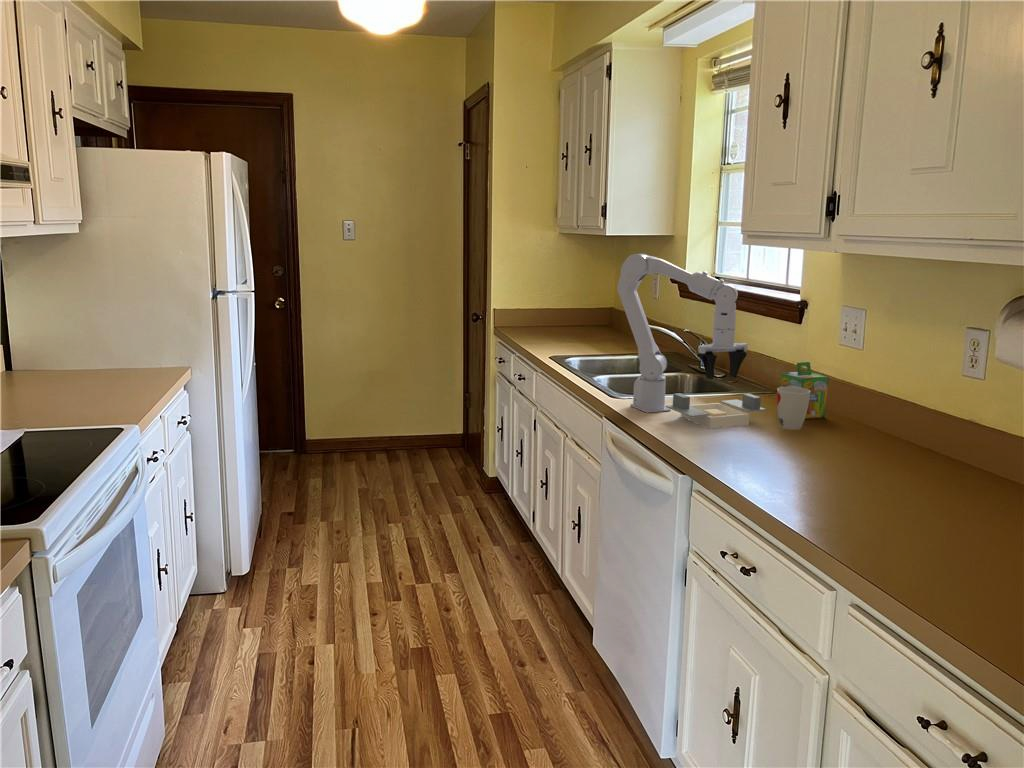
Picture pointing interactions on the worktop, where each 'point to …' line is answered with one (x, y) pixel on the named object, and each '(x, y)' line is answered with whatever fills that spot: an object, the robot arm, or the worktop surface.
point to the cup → (792, 406)
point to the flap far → (746, 403)
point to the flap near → (685, 406)
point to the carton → (719, 416)
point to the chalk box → (809, 388)
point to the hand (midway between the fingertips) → (721, 377)
